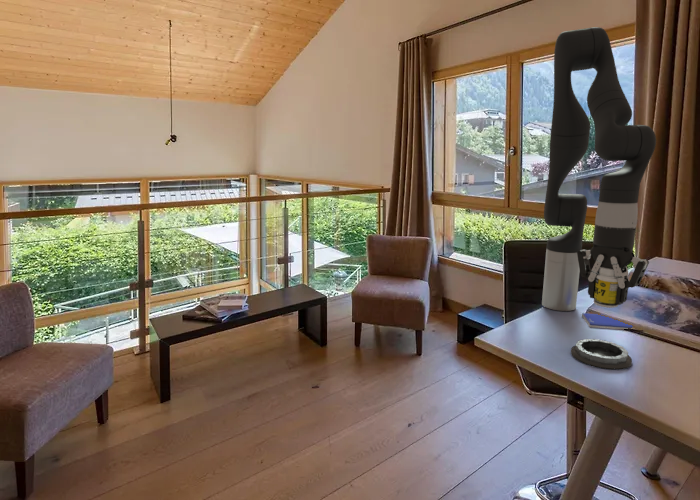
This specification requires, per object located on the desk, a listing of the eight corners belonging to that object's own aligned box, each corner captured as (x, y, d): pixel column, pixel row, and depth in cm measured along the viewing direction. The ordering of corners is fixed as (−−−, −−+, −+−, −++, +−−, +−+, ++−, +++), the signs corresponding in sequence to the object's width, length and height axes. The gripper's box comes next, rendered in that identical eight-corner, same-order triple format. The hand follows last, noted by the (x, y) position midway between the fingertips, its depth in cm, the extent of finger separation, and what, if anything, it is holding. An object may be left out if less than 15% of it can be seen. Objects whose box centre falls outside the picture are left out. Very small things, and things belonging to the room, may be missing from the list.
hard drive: (590, 323, 118) (643, 327, 115) (582, 312, 125) (631, 315, 122) (589, 329, 118) (642, 333, 115) (581, 317, 126) (631, 321, 123)
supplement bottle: (588, 301, 100) (592, 264, 98) (609, 300, 101) (613, 264, 99) (602, 308, 96) (606, 270, 94) (623, 307, 96) (628, 269, 94)
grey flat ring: (563, 344, 107) (564, 336, 107) (617, 347, 106) (618, 338, 105) (581, 368, 96) (582, 359, 95) (642, 371, 94) (643, 362, 94)
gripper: (572, 221, 98) (565, 296, 101) (645, 229, 86) (634, 313, 90) (589, 218, 102) (582, 289, 106) (661, 225, 91) (650, 305, 94)
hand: (606, 300), depth 98 cm, fingers closed on supplement bottle, 4 cm apart
